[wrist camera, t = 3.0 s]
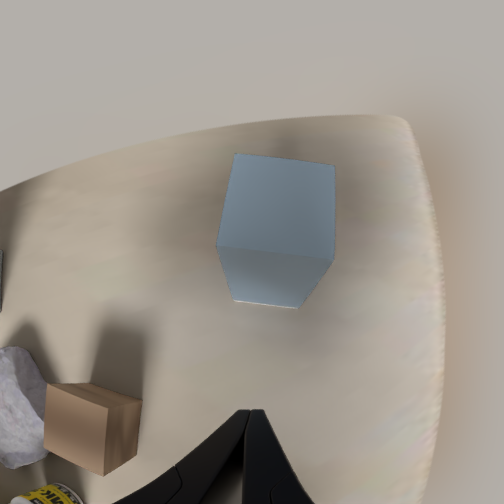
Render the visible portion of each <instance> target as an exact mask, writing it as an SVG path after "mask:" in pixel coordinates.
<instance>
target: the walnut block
mask: <svg viewBox="0 0 504 504" xmlns="http://www.w3.org/2000/svg"><path fill="white" fill-rule="evenodd" d="M141 408H142V400H140V399H136V398H133V397H130V396H126V395H123V394H120V393H117V392H114V391H111V390H108V389H105V388H102V387H99V386H96V385H93V384H90V383H76V384H47V390H46V402H45V416H44V448H45V449H47V450H49V451H51V452H53V453H54V454H56V455H58V456H60V457H62V458H64V459H66V460H68V461H70V462H72V463H74V464H76V465H78V466H80V467H82V468H85V469H87V470H89V471H91V472H94V473H96V474H98V475H101V476H103V477H104V476H105V475H107V474H108V473H110V472H112V471H113V470H115V469H116V468H118V467H119V466H121V465H122V464H124V463H126V462H127V461H129V460H130V459H132V458H133V457H135V456H136V454H137V443H138V433H139V424H140V416H141Z"/></svg>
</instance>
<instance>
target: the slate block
mask: <svg viewBox="0 0 504 504" xmlns="http://www.w3.org/2000/svg"><path fill="white" fill-rule="evenodd" d="M216 247H217V250H218V254H219V257H220V260H221V263H222V267H223V270H224V273H225V276H226V279H227V282H228V286H229V289H230V292H231V295H232V298H233V301H239V302H246V303H254V304H261V305H269V306H278V307H286V308H295V309H299V307H300V306H301V305H302V303H303V302H304V301H305V299H306V298H307V297H308V295H309V294H310V293H311V291H312V290H313V289H314V287H315V286H316V284H317V283H318V282H319V280H320V279H321V278H322V276H323V275H324V273H325V272H326V271H327V269H328V268H329V266H330V265H331V264H332V262H333V261H334V251H335V166H334V165H328V164H321V163H315V162H308V161H300V160H293V159H285V158H276V157H268V156H258V155H248V154H236V153H235V156H234V161H233V165H232V170H231V174H230V179H229V183H228V188H227V193H226V198H225V202H224V207H223V212H222V217H221V222H220V227H219V232H218V237H217V242H216Z"/></svg>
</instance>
